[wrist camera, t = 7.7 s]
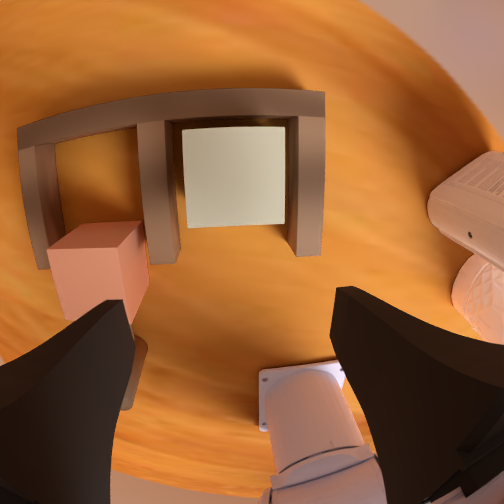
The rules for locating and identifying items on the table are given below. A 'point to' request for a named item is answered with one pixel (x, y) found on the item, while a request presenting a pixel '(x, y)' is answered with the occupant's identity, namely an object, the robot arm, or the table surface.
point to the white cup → (481, 298)
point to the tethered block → (103, 277)
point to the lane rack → (162, 160)
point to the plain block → (234, 176)
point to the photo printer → (473, 207)
